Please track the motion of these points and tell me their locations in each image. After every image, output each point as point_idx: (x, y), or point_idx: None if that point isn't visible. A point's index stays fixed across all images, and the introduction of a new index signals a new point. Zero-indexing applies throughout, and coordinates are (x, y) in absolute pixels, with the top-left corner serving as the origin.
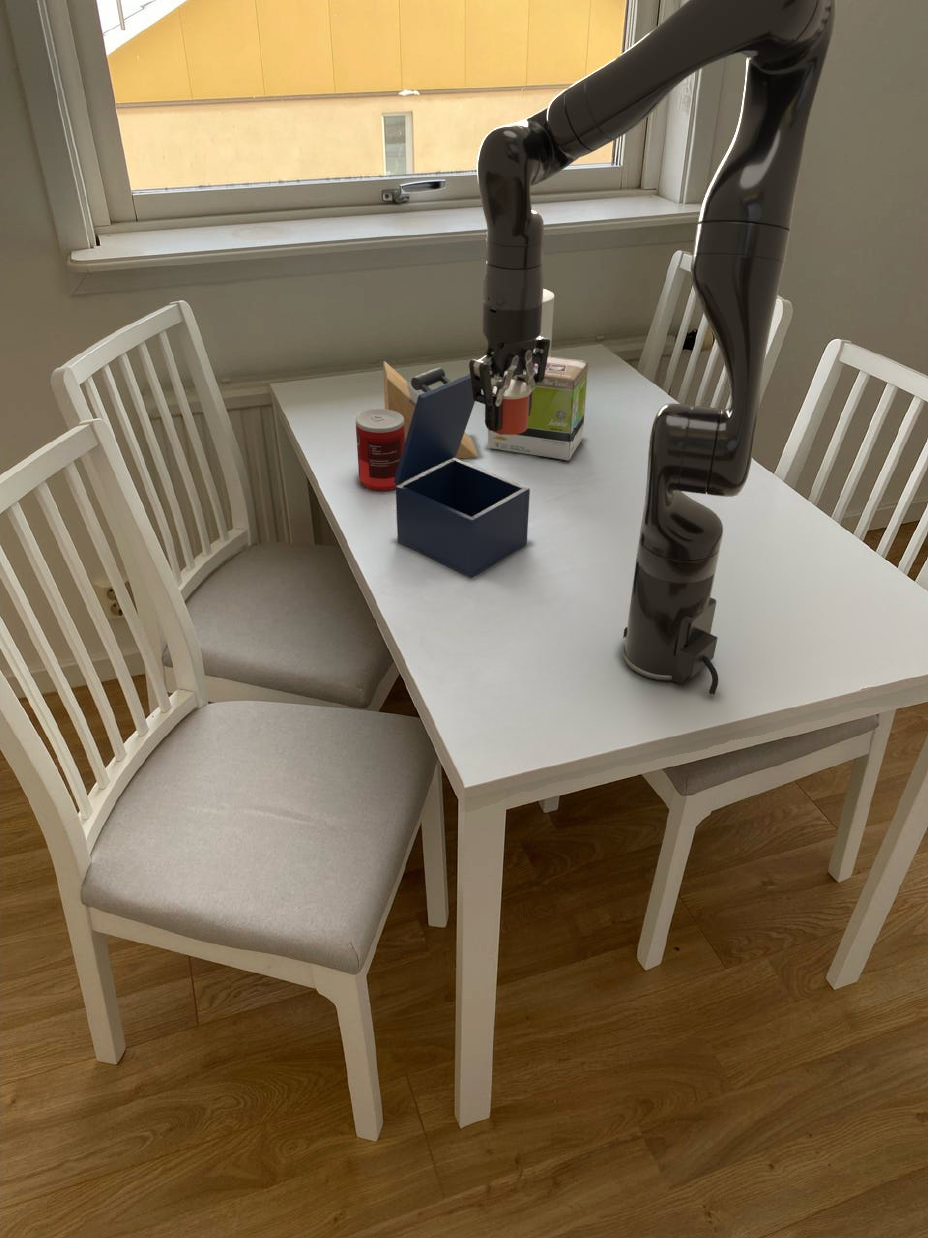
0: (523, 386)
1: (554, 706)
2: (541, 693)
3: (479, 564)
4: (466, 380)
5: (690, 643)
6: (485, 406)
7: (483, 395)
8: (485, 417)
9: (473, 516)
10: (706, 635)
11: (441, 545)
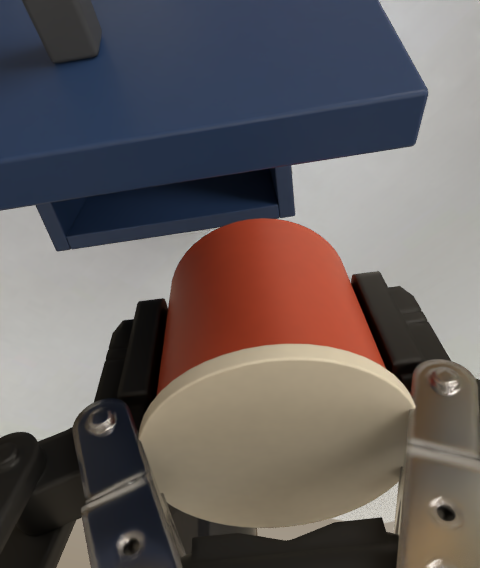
0: (358, 476)
1: (45, 428)
2: (43, 412)
3: None
4: (115, 187)
5: None
6: (95, 400)
7: (18, 521)
8: (107, 356)
9: (70, 239)
10: None
11: None
